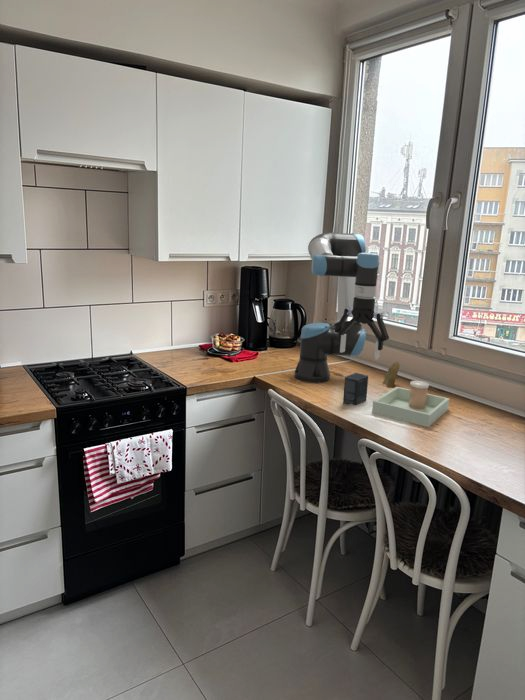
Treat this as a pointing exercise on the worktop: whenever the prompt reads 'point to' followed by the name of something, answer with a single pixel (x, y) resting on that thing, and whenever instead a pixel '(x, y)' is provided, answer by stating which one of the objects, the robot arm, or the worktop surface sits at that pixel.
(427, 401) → the tray
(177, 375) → the worktop surface
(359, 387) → the box
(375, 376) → the worktop surface
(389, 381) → the rock
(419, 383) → the jar
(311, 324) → the robot arm
